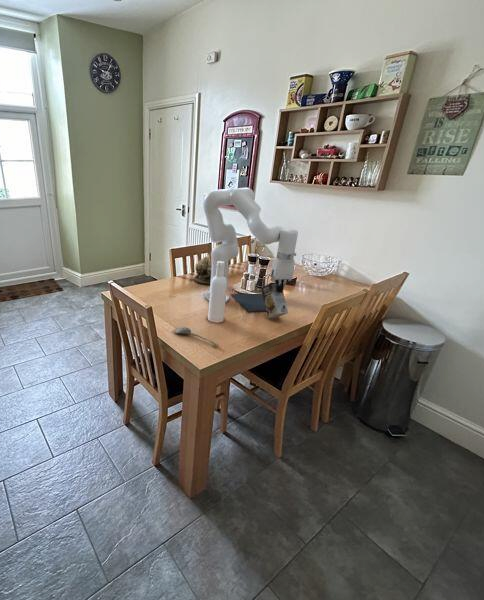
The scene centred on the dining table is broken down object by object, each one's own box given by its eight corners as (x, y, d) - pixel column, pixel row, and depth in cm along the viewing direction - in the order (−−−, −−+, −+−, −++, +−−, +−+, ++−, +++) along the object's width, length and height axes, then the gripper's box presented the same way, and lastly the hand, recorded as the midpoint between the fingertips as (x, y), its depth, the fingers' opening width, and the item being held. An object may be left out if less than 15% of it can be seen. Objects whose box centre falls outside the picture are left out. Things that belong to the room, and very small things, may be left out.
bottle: (205, 317, 167) (209, 260, 155) (218, 314, 170) (223, 258, 158) (212, 323, 160) (217, 265, 148) (226, 321, 163) (232, 263, 151)
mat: (248, 312, 173) (248, 311, 173) (231, 295, 194) (231, 294, 194) (283, 309, 176) (283, 308, 176) (262, 293, 198) (262, 292, 198)
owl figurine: (221, 283, 213) (224, 257, 206) (210, 287, 206) (212, 261, 199) (200, 276, 225) (202, 252, 218) (189, 279, 218) (190, 255, 211)
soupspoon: (180, 329, 156) (172, 334, 152) (180, 323, 155) (171, 328, 150) (220, 343, 143) (212, 350, 138) (220, 337, 141) (212, 343, 137)
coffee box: (267, 318, 166) (260, 288, 170) (278, 317, 168) (270, 287, 172) (278, 313, 158) (270, 282, 162) (289, 312, 159) (281, 281, 164)
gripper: (295, 253, 158) (289, 288, 165) (266, 254, 155) (261, 290, 163) (304, 257, 151) (297, 294, 158) (274, 258, 149) (268, 295, 156)
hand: (279, 292), depth 161 cm, fingers closed
